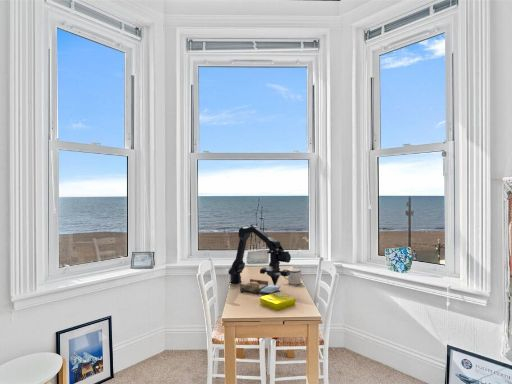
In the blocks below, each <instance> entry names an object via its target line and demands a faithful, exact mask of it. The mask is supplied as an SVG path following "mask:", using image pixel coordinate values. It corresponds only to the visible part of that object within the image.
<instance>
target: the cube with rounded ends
mask: <svg viewBox="0 0 512 384" xmlns="http://www.w3.org/2000/svg"><path fill="white" fill-rule="evenodd" d="M249 282H250V281H249ZM249 282H248V283H249ZM249 285H252V286H259V283H257V282H250V283H249Z"/></svg>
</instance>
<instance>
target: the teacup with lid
mask: <svg viewBox="0 0 512 384" xmlns="http://www.w3.org/2000/svg"><path fill="white" fill-rule="evenodd" d="M287 270H289V271H290V275H288V276H287V277H286V276H283V278H284V280H286V281H288V284H290V285H300V284H301V283H302V280H301V279H302V269H300V268H298V267H297V266H296V265H292V267H289V268H288V269H287Z"/></svg>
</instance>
